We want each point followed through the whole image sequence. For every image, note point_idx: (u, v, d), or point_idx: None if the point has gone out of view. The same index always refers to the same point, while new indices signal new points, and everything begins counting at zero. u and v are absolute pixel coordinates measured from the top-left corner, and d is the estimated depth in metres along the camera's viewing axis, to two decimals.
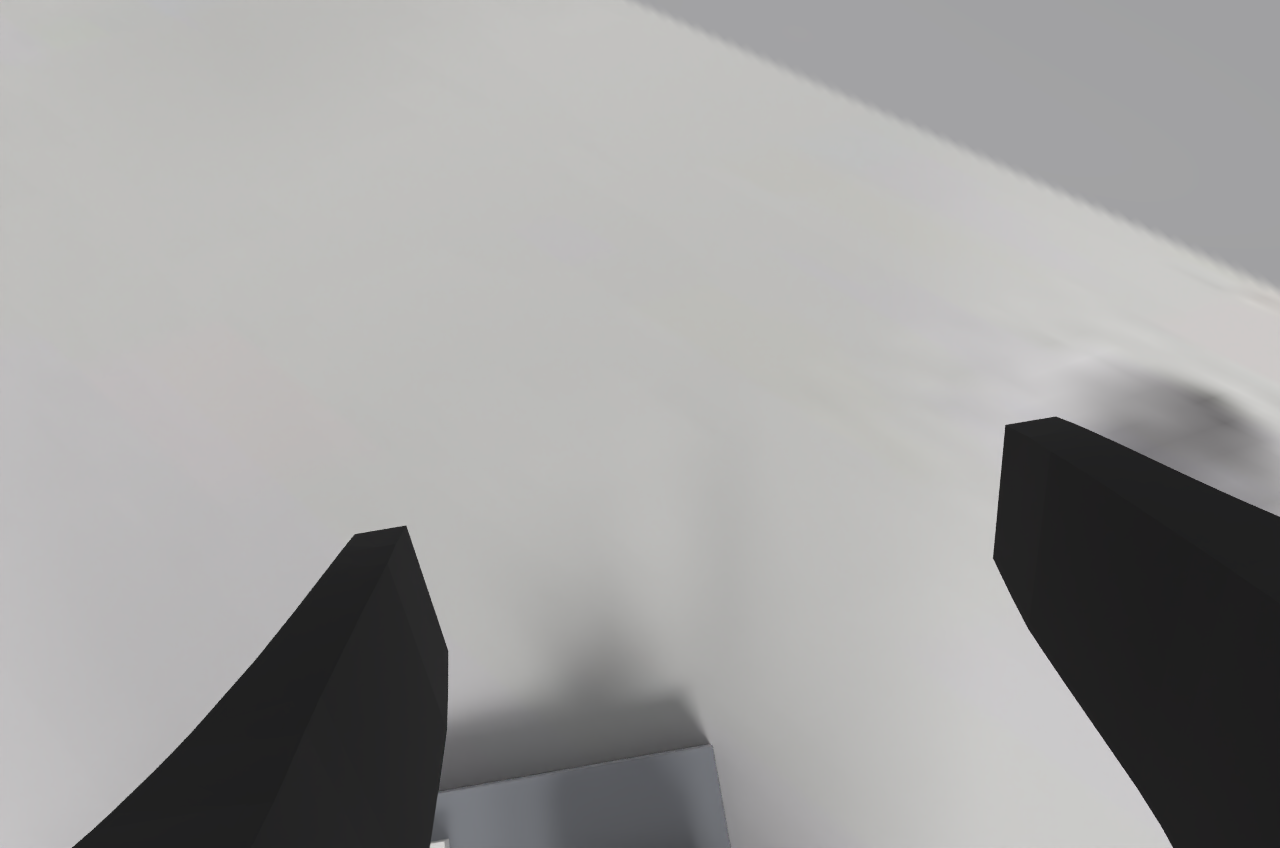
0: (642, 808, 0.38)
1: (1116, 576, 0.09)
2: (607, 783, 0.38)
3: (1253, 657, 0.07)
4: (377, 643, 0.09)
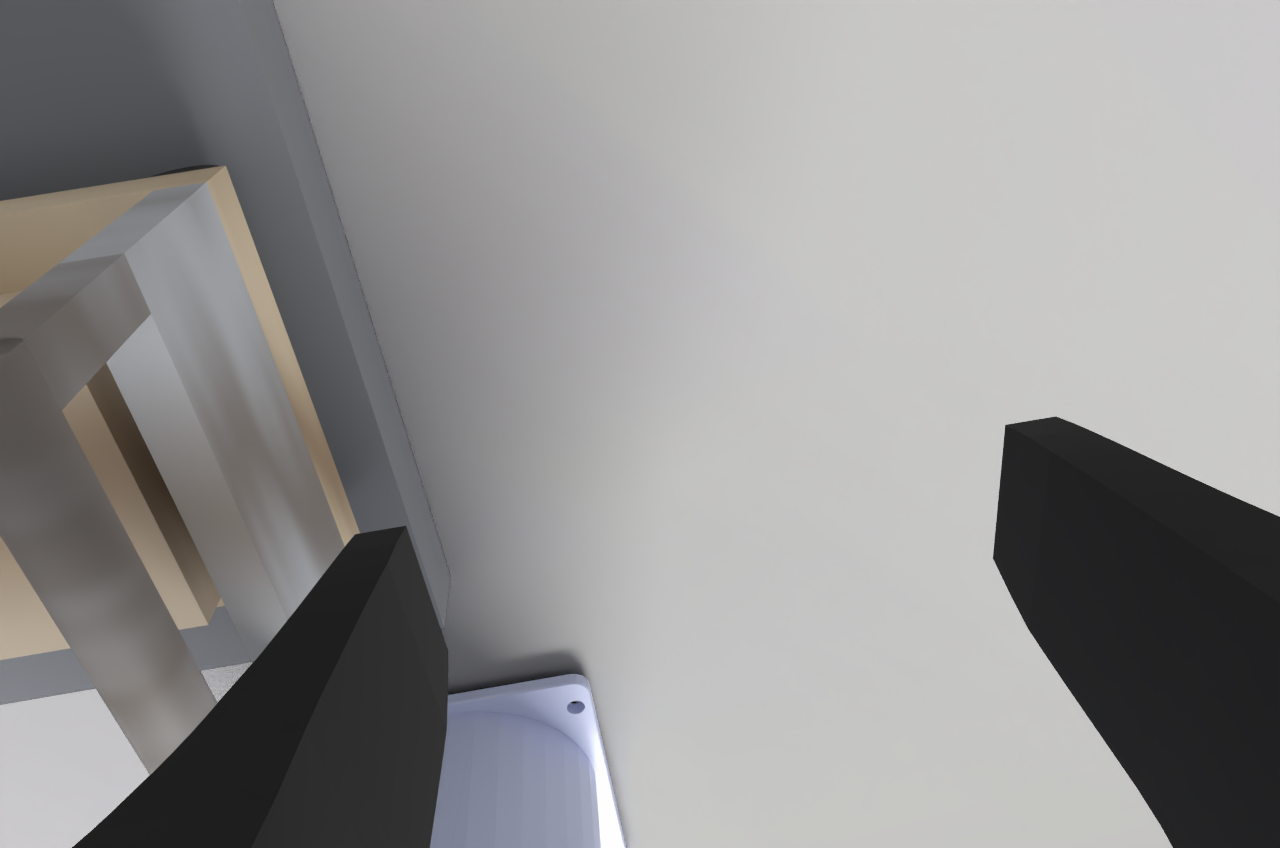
0: (41, 43, 0.15)
1: (1116, 576, 0.09)
2: None
3: (1253, 657, 0.07)
4: (377, 642, 0.09)
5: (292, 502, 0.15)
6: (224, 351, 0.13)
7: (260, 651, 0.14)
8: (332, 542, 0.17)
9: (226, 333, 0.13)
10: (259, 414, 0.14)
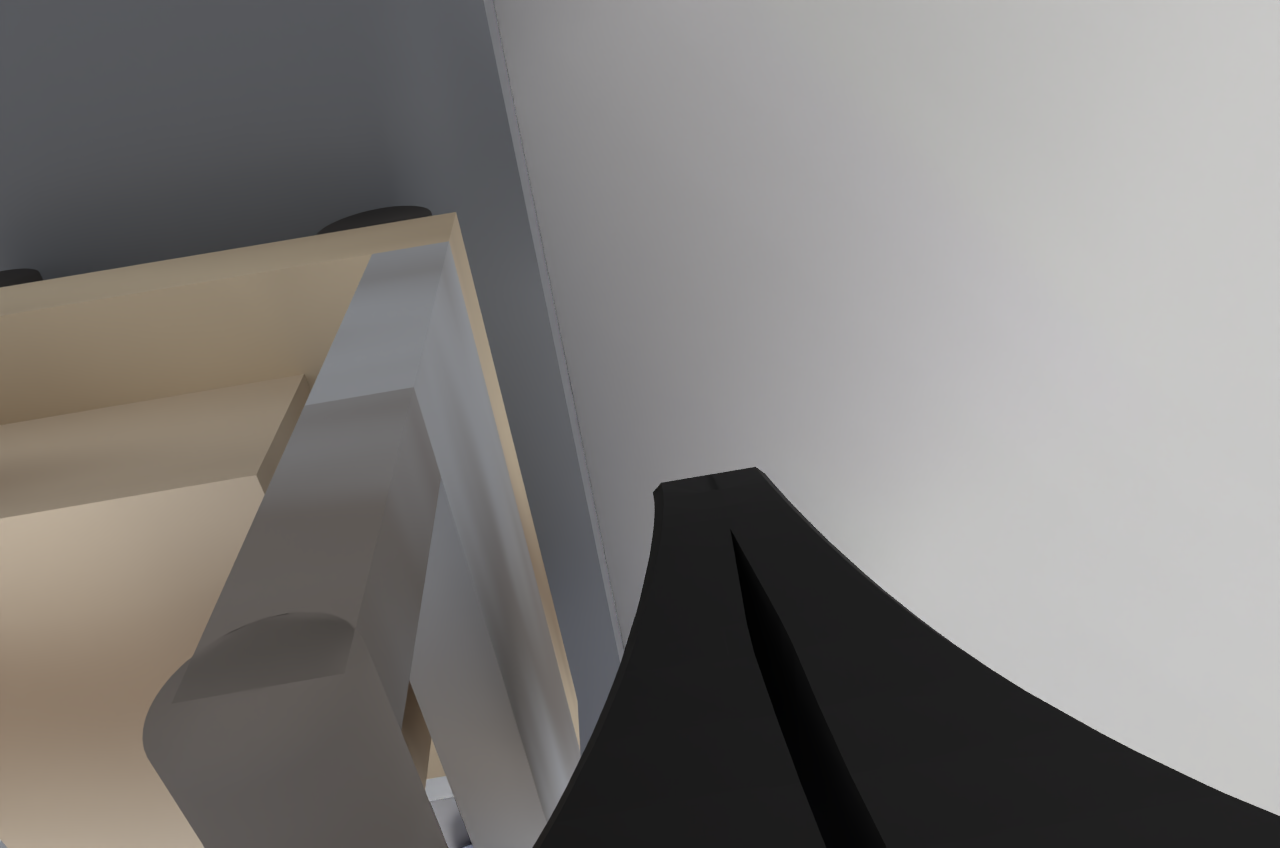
0: (198, 36, 0.11)
1: (757, 638, 0.09)
2: None
3: (810, 734, 0.07)
4: None
5: (542, 683, 0.11)
6: (486, 495, 0.09)
7: None
8: (564, 712, 0.12)
9: (484, 467, 0.09)
10: (513, 572, 0.10)
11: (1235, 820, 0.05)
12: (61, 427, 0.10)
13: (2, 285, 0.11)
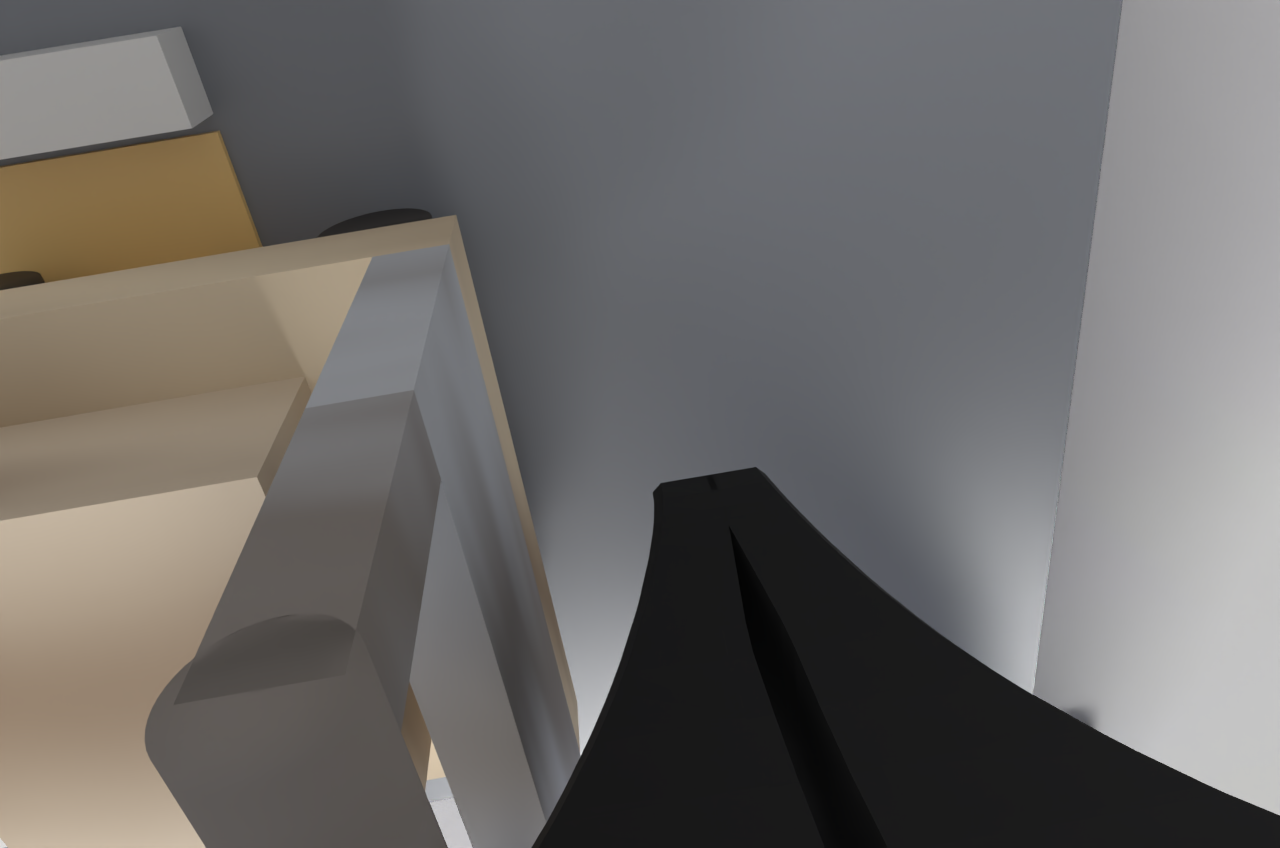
0: None
1: (758, 638, 0.09)
2: None
3: (810, 734, 0.07)
4: None
5: (542, 684, 0.11)
6: (486, 497, 0.09)
7: None
8: (564, 714, 0.12)
9: (484, 469, 0.09)
10: (513, 573, 0.10)
11: (1236, 821, 0.05)
12: (63, 429, 0.10)
13: (5, 287, 0.11)
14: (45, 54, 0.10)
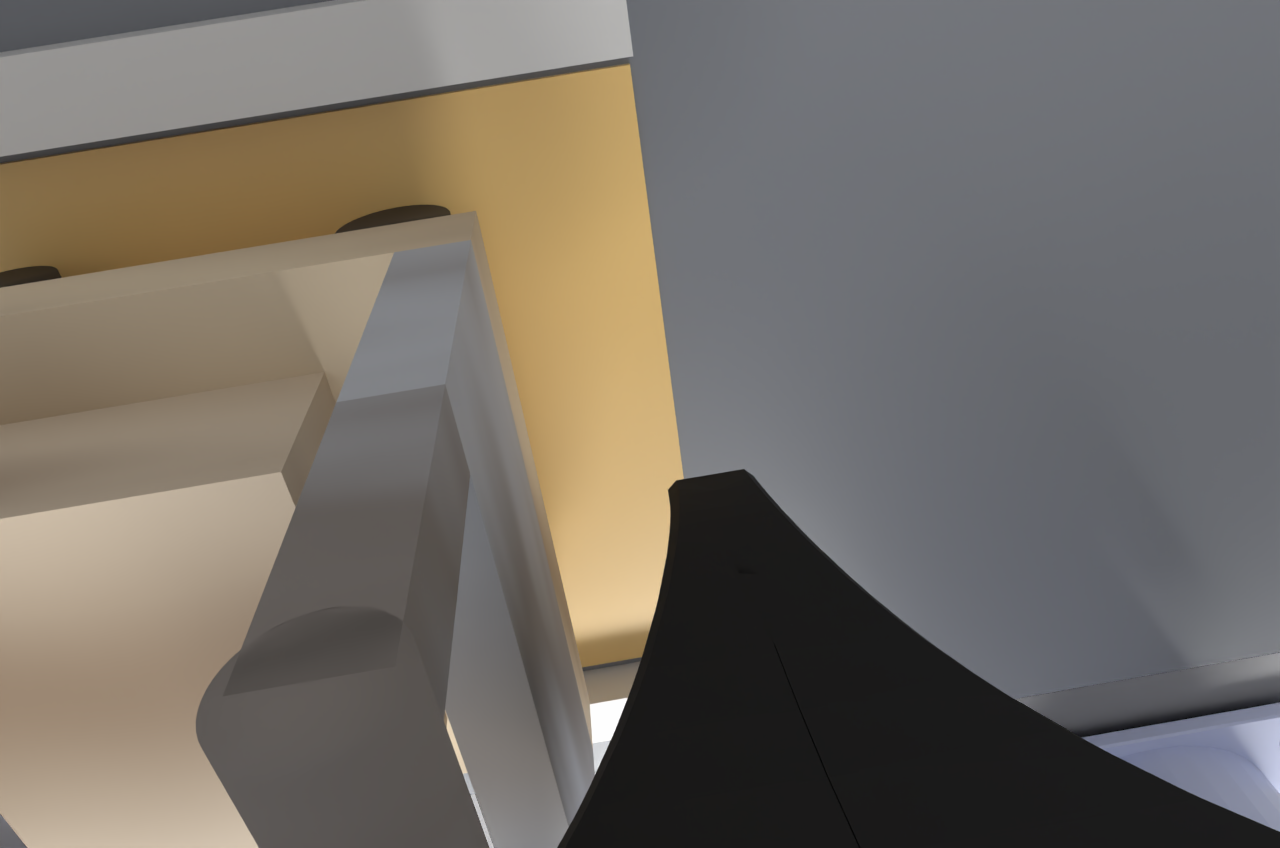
0: None
1: None
2: None
3: None
4: None
5: (559, 681, 0.11)
6: (508, 493, 0.09)
7: None
8: (578, 711, 0.12)
9: (506, 465, 0.09)
10: (532, 570, 0.10)
11: (1210, 825, 0.05)
12: (82, 424, 0.10)
13: (21, 282, 0.11)
14: None
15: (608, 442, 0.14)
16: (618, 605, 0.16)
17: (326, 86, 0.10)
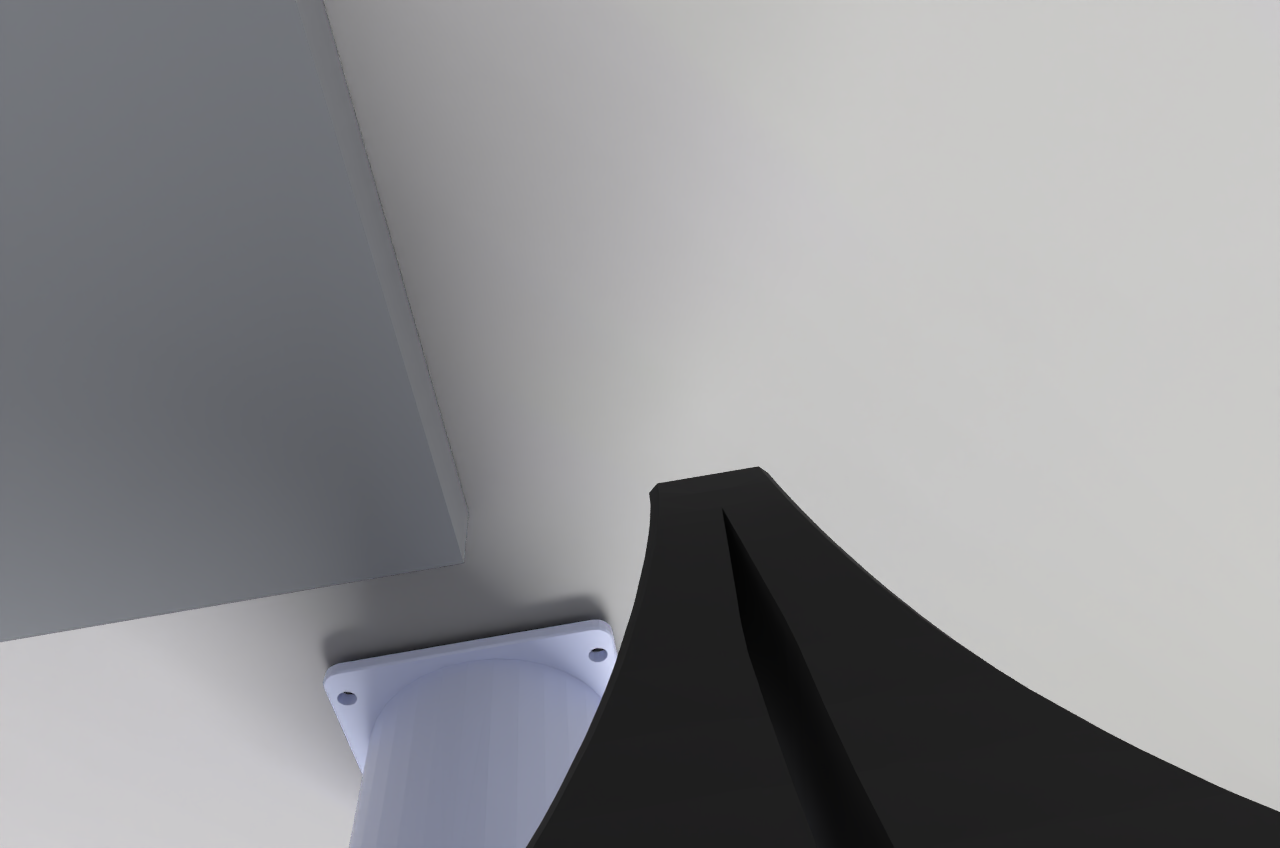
0: None
1: (761, 637, 0.09)
2: None
3: (815, 733, 0.07)
4: None
5: None
6: None
7: None
8: None
9: None
10: None
11: (1243, 819, 0.05)
12: None
13: None
14: None
15: None
16: None
17: None
